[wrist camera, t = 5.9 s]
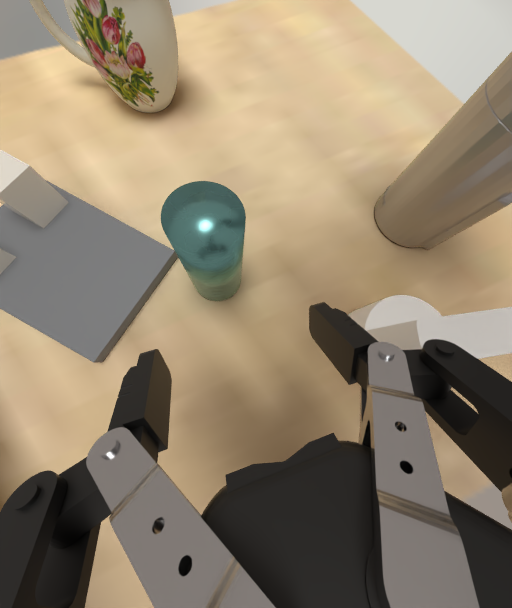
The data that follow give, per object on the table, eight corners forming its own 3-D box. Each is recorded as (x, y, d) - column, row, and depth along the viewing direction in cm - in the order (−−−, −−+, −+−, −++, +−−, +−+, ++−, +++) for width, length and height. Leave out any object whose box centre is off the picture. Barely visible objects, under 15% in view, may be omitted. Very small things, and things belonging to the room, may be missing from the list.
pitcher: (88, 56, 33) (-11, -149, 20) (209, 79, 34) (193, -100, 21) (65, 111, 30) (-69, -85, 17) (197, 134, 31) (170, -32, 18)
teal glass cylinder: (249, 270, 27) (259, 205, 15) (225, 309, 26) (218, 269, 14) (209, 249, 27) (191, 168, 16) (184, 286, 26) (143, 227, 14)
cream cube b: (68, 202, 25) (29, 165, 20) (43, 228, 24) (-4, 196, 19) (39, 186, 25) (-7, 145, 21) (13, 211, 24) (-42, 175, 20)
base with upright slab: (394, 304, 28) (509, 265, 16) (416, 378, 26) (565, 394, 14) (327, 312, 27) (399, 277, 15) (345, 390, 25) (443, 419, 13)
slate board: (177, 256, 27) (174, 250, 25) (102, 362, 23) (93, 362, 22) (45, 184, 27) (35, 174, 26) (-48, 275, 24) (-67, 270, 22)
